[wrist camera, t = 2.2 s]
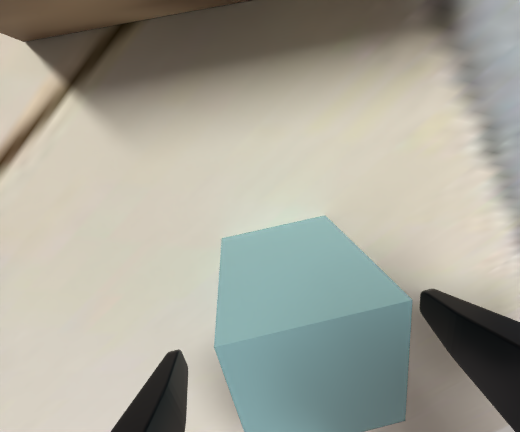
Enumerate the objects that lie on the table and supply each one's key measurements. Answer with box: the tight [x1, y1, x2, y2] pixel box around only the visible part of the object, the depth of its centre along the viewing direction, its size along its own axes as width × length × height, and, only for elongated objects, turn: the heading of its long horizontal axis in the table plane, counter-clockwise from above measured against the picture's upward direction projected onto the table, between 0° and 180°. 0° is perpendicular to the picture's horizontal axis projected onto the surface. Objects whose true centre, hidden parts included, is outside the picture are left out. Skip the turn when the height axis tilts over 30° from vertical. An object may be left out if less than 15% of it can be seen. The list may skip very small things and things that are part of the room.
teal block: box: [214, 216, 412, 432], centre depth 10 cm, size 5×5×6 cm
